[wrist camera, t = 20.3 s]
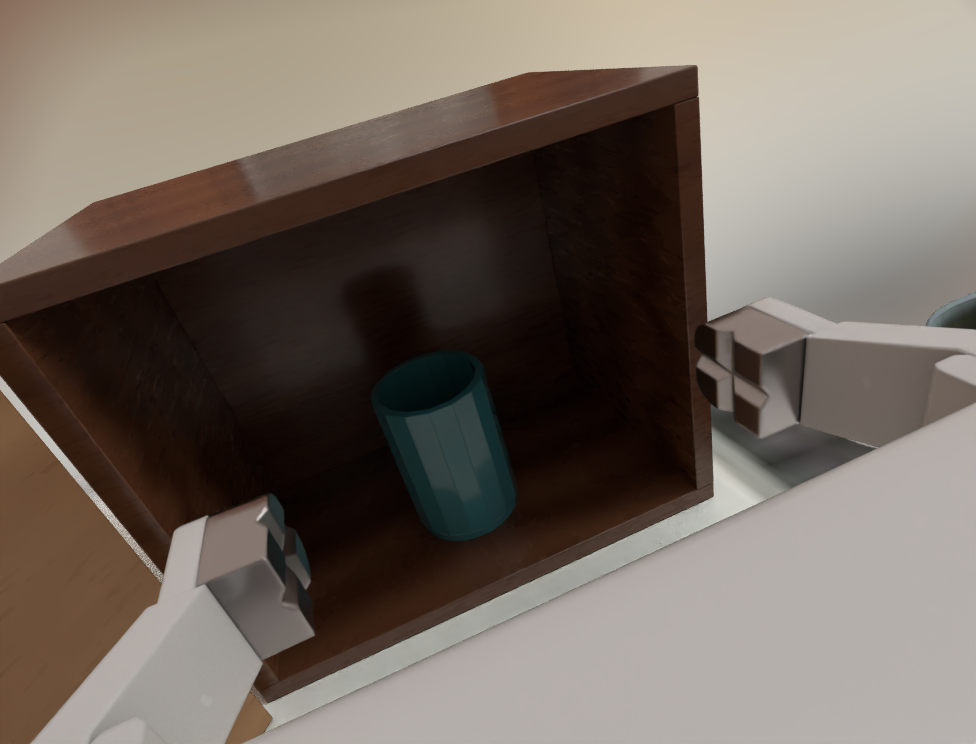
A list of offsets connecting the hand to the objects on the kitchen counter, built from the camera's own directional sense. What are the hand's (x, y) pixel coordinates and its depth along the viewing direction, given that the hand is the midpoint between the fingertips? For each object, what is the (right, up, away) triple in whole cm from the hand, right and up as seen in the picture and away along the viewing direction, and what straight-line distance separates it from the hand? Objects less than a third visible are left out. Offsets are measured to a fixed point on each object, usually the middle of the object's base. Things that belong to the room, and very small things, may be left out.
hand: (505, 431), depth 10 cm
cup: (-2, -8, +28) cm, 29 cm away
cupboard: (-2, -8, +30) cm, 31 cm away
